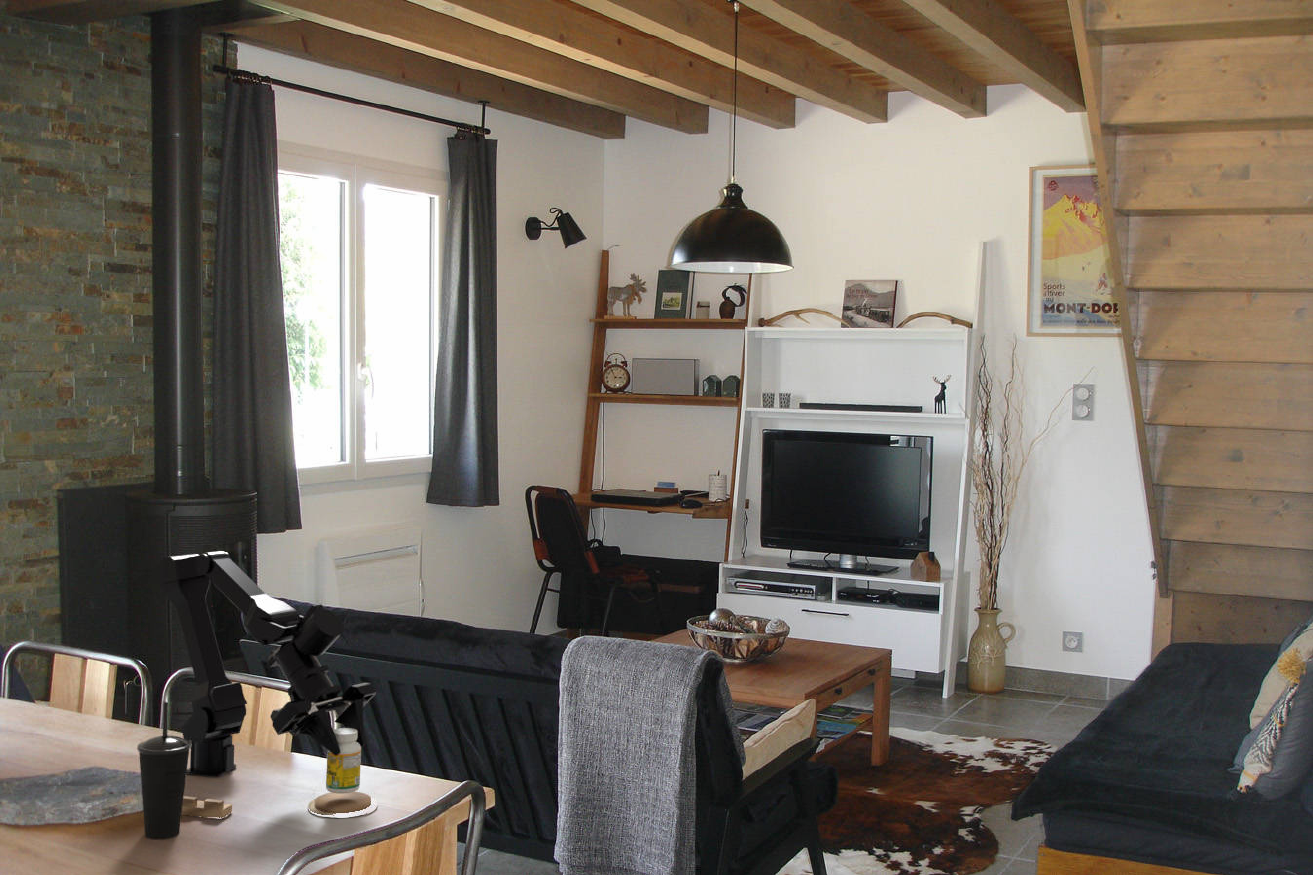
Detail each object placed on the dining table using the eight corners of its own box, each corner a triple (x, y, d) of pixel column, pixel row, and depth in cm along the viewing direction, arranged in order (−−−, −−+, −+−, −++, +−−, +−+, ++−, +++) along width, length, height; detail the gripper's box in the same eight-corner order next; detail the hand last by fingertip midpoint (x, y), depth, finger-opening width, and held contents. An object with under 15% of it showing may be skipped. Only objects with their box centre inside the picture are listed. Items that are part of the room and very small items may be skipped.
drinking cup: (172, 821, 193) (176, 694, 193) (198, 833, 189) (202, 703, 188) (125, 833, 188) (128, 702, 187) (151, 846, 183) (155, 711, 182)
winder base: (295, 814, 199) (295, 806, 199) (327, 793, 210) (327, 786, 210) (359, 821, 197) (359, 814, 197) (388, 800, 208) (388, 793, 208)
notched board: (175, 814, 197) (176, 797, 197) (186, 808, 200) (187, 791, 200) (221, 819, 195) (222, 802, 195) (231, 813, 198) (232, 796, 198)
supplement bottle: (364, 791, 203) (367, 733, 202) (333, 796, 199) (336, 737, 199) (351, 782, 207) (353, 725, 207) (320, 786, 204) (323, 728, 203)
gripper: (318, 690, 219) (363, 764, 213) (234, 711, 202) (280, 792, 197) (354, 652, 214) (400, 727, 209) (271, 671, 198) (319, 752, 193)
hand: (350, 750), depth 202 cm, fingers closed on supplement bottle, 5 cm apart
